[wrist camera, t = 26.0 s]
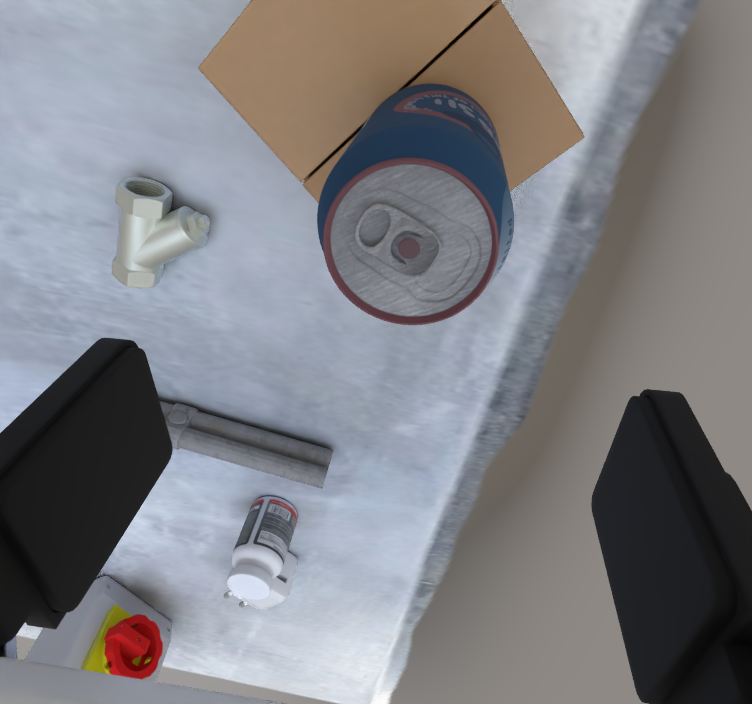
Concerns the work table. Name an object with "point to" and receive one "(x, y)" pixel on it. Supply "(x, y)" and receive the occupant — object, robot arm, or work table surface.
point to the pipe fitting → (152, 232)
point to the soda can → (418, 208)
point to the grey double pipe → (246, 445)
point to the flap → (326, 65)
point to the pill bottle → (262, 547)
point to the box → (494, 96)
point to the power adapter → (274, 586)
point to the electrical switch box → (107, 635)
